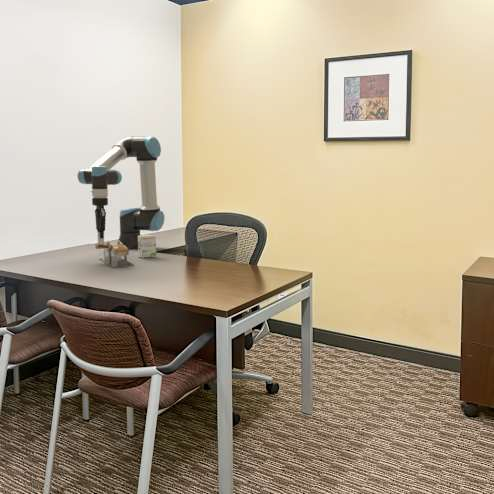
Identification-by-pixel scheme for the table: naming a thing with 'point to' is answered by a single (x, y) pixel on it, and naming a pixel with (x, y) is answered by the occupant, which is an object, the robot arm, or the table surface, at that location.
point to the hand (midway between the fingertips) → (101, 244)
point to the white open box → (105, 256)
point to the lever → (114, 248)
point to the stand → (117, 261)
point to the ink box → (147, 246)
